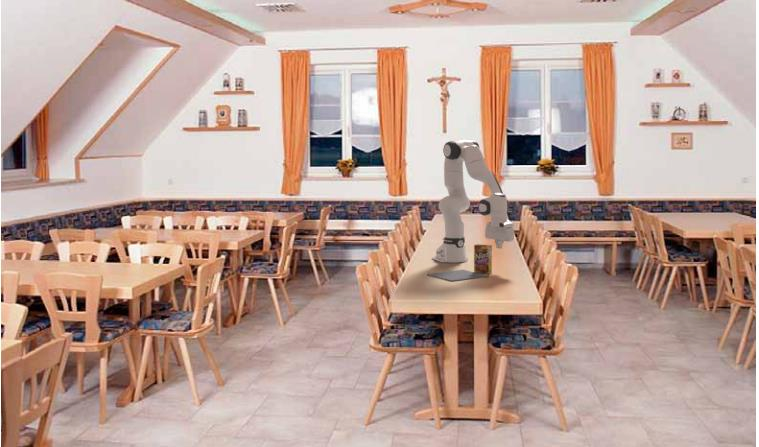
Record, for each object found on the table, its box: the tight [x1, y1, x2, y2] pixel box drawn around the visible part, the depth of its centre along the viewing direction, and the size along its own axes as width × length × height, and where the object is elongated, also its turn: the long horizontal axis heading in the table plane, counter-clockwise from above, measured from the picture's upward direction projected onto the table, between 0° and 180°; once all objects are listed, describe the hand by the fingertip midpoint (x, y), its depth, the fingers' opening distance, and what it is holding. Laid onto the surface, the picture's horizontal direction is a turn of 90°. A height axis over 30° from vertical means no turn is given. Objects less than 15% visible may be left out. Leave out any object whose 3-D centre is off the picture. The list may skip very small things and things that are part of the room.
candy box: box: [473, 243, 493, 275], centre depth 417 cm, size 9×4×15 cm, turn 56°
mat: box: [426, 269, 489, 283], centre depth 409 cm, size 22×24×1 cm
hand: (499, 248), depth 422 cm, fingers closed
